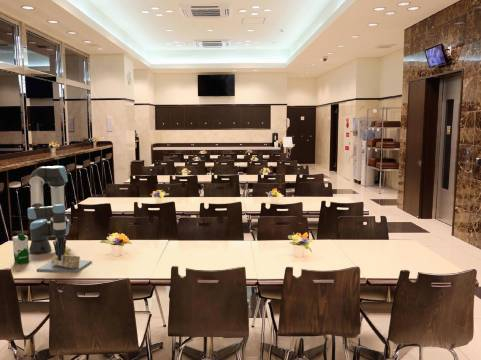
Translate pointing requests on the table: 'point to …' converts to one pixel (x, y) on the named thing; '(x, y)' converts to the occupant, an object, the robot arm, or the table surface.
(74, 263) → the link
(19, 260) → the milk carton
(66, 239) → the robot arm
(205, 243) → the table surface
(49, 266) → the deck
